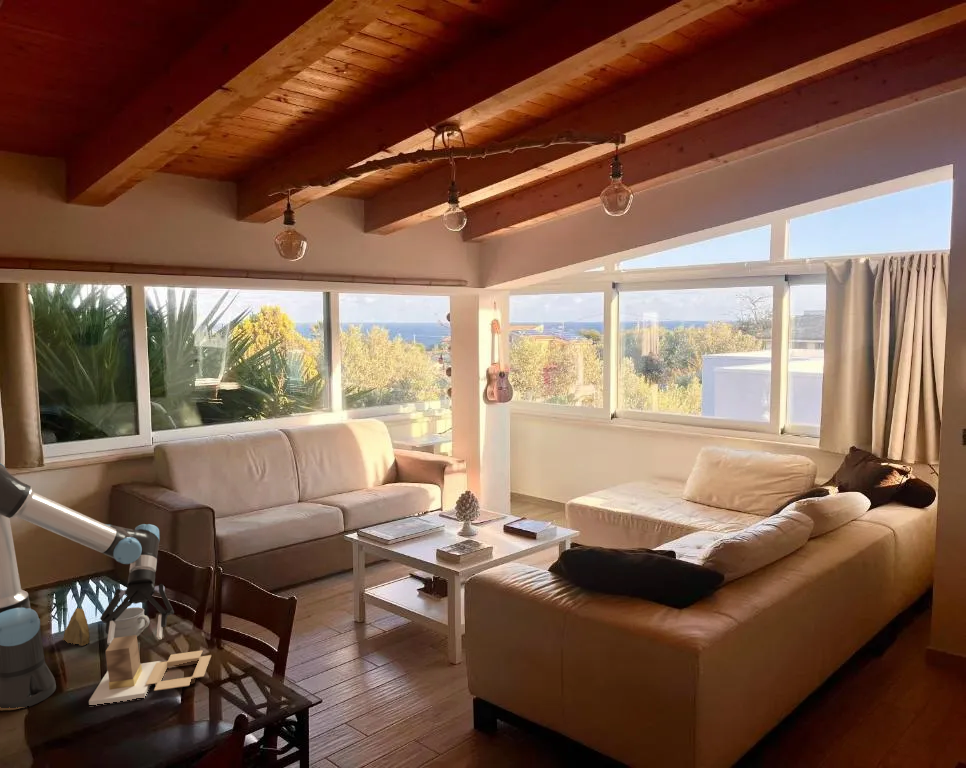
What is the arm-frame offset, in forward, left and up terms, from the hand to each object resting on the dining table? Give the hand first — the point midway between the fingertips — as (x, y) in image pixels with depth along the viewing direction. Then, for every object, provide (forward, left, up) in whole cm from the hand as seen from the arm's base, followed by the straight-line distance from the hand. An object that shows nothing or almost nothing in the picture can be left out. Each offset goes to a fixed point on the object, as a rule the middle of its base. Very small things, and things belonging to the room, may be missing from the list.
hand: (134, 641), depth 218 cm
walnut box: (0, -11, -6) cm, 12 cm away
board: (0, -11, -8) cm, 13 cm away
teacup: (-7, +21, -8) cm, 24 cm away
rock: (-24, +23, -8) cm, 35 cm away
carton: (+14, -10, -8) cm, 19 cm away
